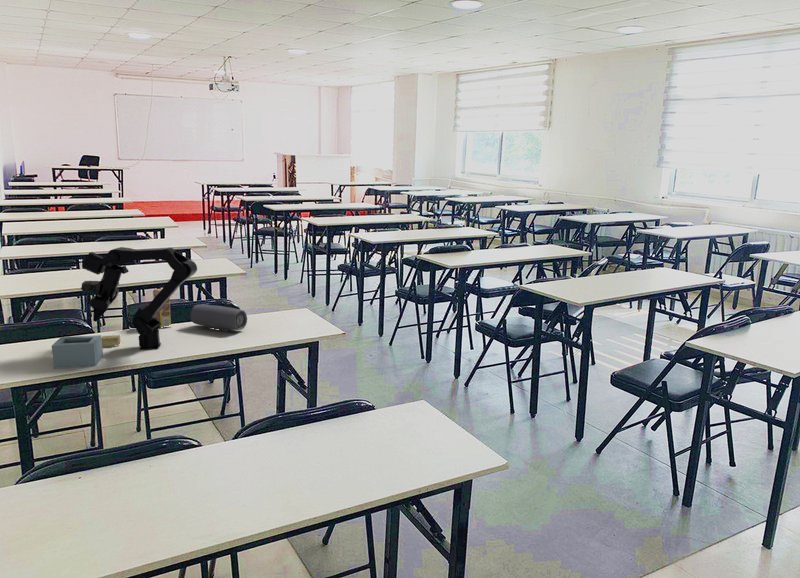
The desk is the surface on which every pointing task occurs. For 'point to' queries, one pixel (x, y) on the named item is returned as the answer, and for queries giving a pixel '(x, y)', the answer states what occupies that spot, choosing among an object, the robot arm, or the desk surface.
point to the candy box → (163, 311)
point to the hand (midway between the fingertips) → (98, 316)
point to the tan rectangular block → (110, 340)
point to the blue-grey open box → (77, 351)
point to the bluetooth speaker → (219, 317)
